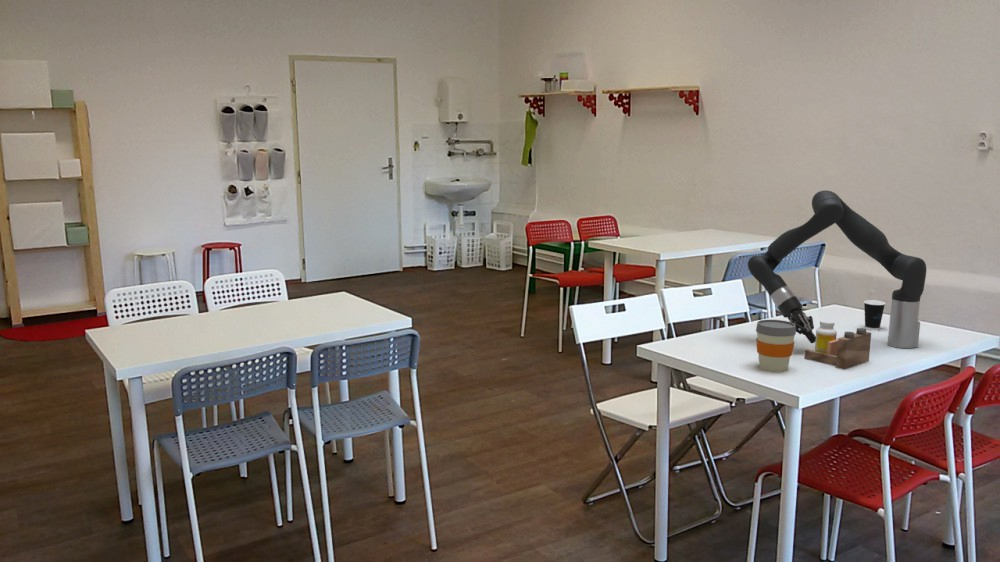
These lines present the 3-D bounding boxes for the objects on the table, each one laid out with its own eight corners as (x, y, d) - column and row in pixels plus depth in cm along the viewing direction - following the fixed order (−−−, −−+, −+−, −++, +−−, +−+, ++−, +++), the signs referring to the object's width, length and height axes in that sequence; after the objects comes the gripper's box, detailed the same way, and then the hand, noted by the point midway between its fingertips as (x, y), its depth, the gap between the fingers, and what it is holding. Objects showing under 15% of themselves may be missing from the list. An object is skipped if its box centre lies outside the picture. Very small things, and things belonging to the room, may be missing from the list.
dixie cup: (865, 325, 328) (867, 299, 326) (886, 329, 322) (888, 302, 320) (858, 329, 322) (860, 302, 320) (879, 332, 317) (881, 305, 315)
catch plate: (826, 359, 276) (827, 342, 275) (840, 354, 281) (841, 337, 280) (829, 359, 275) (831, 342, 274) (843, 355, 280) (844, 338, 279)
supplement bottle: (836, 360, 278) (839, 324, 275) (816, 359, 279) (819, 323, 277) (832, 355, 284) (835, 319, 282) (812, 354, 285) (815, 318, 283)
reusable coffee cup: (759, 372, 263) (762, 328, 261) (749, 361, 276) (752, 319, 273) (798, 373, 263) (801, 328, 260) (786, 362, 275) (789, 319, 272)
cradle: (801, 359, 279) (804, 326, 277) (826, 351, 289) (829, 319, 287) (844, 369, 267) (847, 335, 265) (868, 361, 277) (871, 328, 275)
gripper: (789, 305, 297) (817, 344, 290) (768, 309, 289) (796, 350, 282) (803, 293, 292) (832, 333, 285) (782, 297, 284) (811, 339, 277)
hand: (814, 341), depth 283 cm, fingers closed
